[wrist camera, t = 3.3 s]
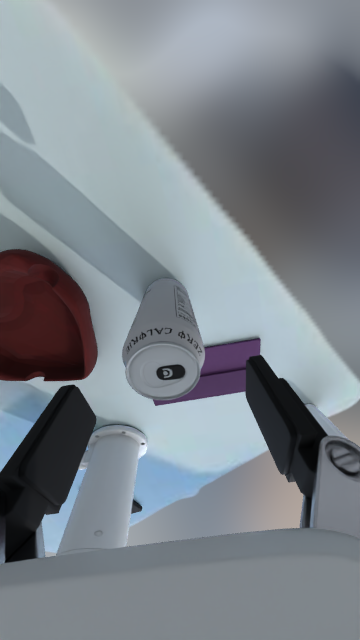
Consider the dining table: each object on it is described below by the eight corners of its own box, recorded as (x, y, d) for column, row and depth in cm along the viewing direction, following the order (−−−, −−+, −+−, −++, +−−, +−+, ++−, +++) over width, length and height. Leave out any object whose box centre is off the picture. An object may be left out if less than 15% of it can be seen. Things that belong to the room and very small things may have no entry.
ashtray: (65, 385, 31) (48, 410, 26) (-36, 322, 25) (-81, 342, 20) (137, 325, 26) (131, 344, 22) (36, 233, 20) (-2, 232, 16)
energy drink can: (141, 279, 23) (103, 340, 10) (186, 274, 23) (208, 328, 10) (149, 319, 26) (128, 410, 13) (189, 314, 26) (211, 401, 13)
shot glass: (294, 401, 36) (320, 436, 30) (325, 402, 37) (357, 436, 30) (283, 422, 39) (304, 459, 33) (312, 423, 40) (338, 458, 33)
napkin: (154, 402, 34) (154, 406, 33) (139, 358, 29) (138, 361, 28) (257, 386, 33) (259, 389, 33) (259, 338, 29) (261, 340, 28)
